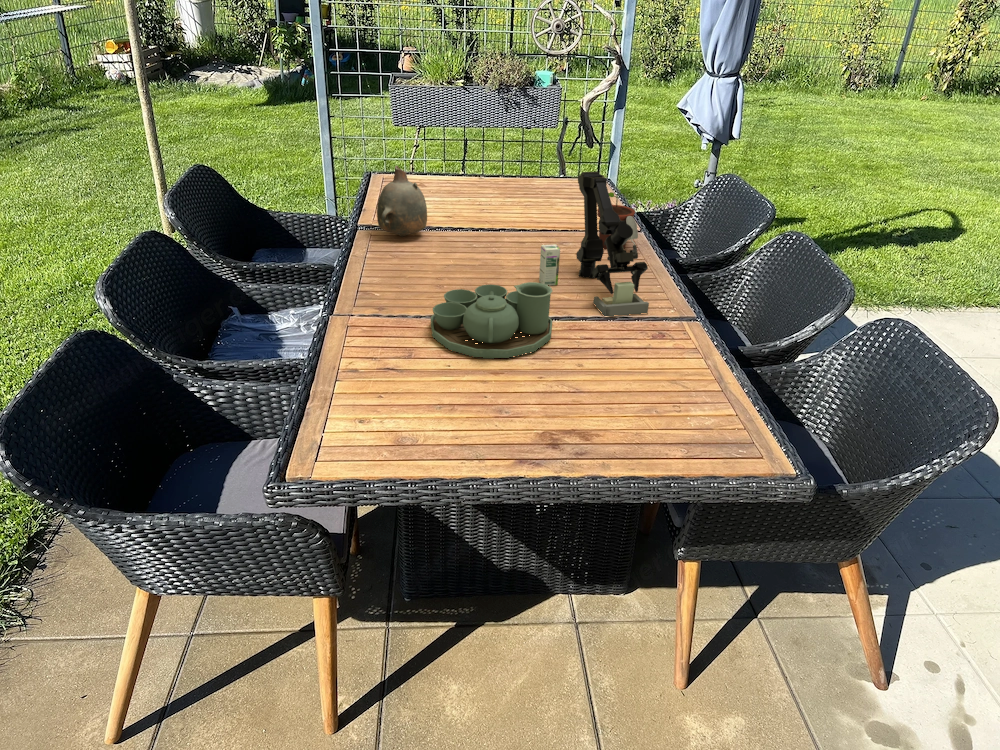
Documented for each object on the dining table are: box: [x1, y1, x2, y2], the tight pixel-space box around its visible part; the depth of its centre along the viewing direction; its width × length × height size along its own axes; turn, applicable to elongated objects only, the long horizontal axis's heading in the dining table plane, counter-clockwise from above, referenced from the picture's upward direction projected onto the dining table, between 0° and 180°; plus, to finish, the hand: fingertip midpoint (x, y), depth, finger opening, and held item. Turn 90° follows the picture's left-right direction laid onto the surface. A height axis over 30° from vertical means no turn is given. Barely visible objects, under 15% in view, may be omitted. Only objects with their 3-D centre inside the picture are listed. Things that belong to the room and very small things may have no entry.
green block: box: [612, 281, 635, 304], centre depth 243 cm, size 3×6×10 cm, turn 105°
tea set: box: [430, 281, 554, 359], centre depth 224 cm, size 40×40×16 cm
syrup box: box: [538, 243, 561, 286], centre depth 261 cm, size 6×6×14 cm
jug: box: [376, 165, 428, 237], centre depth 297 cm, size 24×21×30 cm
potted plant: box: [597, 188, 639, 251], centre depth 294 cm, size 18×22×25 cm
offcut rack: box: [592, 292, 650, 317], centre depth 245 cm, size 11×16×4 cm
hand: (624, 292), depth 241 cm, fingers open, 9 cm apart
